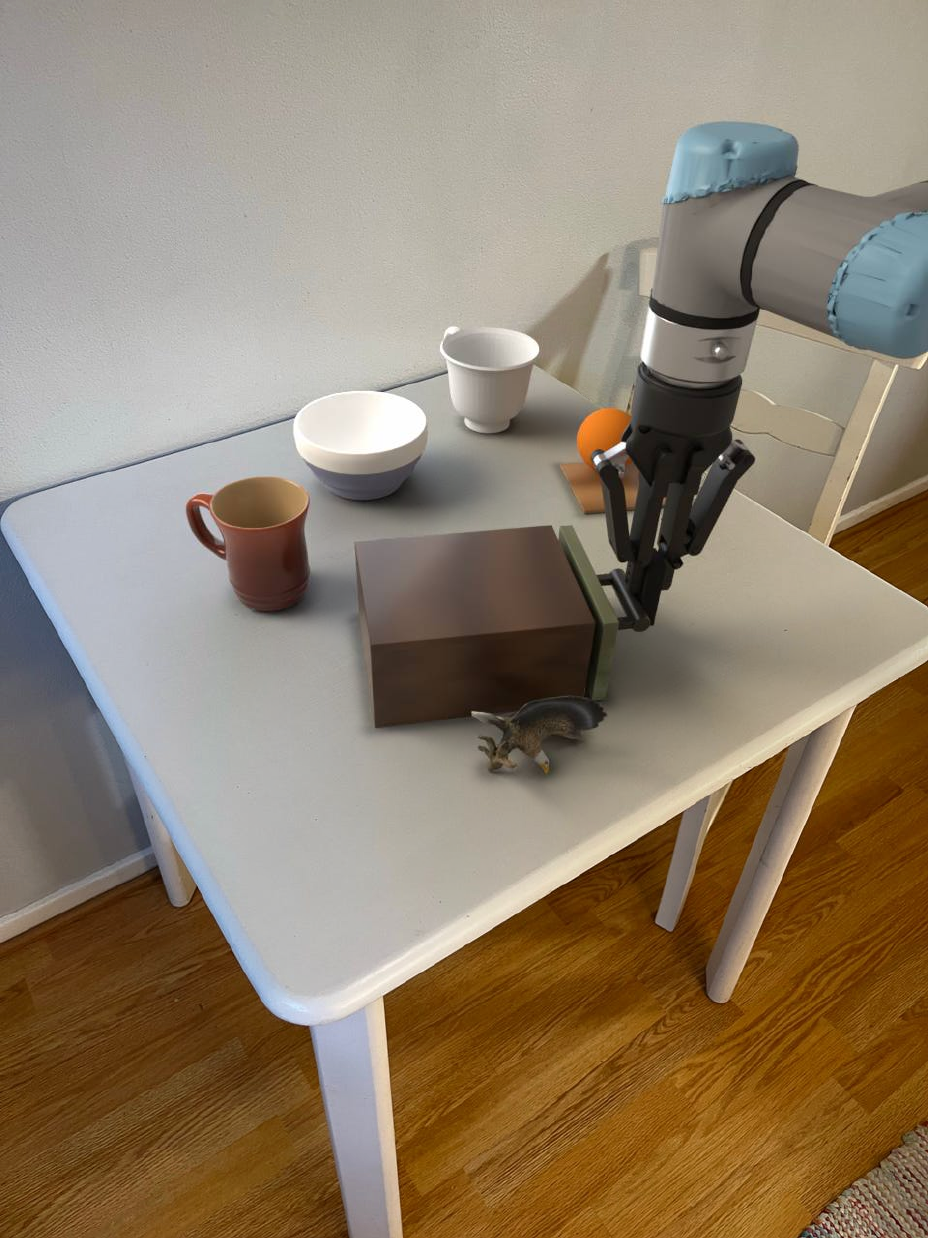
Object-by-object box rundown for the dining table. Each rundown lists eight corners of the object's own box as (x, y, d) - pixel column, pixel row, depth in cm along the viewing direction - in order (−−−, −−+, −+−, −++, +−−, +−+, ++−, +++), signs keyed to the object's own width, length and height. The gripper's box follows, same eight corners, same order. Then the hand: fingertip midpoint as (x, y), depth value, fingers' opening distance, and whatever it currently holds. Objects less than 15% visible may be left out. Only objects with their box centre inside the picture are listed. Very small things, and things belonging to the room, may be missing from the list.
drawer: (606, 594, 87) (618, 520, 81) (654, 693, 77) (671, 616, 71) (383, 616, 83) (380, 540, 78) (402, 722, 73) (400, 644, 68)
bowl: (279, 505, 97) (271, 443, 93) (325, 441, 108) (321, 382, 103) (407, 526, 95) (406, 463, 90) (442, 458, 106) (442, 399, 101)
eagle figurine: (537, 811, 66) (623, 740, 69) (494, 731, 63) (586, 662, 67) (486, 787, 72) (567, 723, 76) (447, 714, 70) (532, 652, 74)
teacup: (482, 384, 121) (485, 311, 115) (554, 429, 112) (562, 352, 106) (408, 407, 116) (406, 332, 109) (477, 456, 107) (480, 377, 100)
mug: (333, 575, 88) (326, 486, 82) (293, 630, 82) (281, 538, 75) (225, 550, 91) (209, 462, 84) (178, 602, 85) (156, 510, 78)
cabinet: (543, 602, 86) (551, 524, 80) (583, 703, 76) (595, 622, 70) (359, 620, 83) (354, 541, 77) (374, 727, 73) (370, 645, 67)
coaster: (671, 506, 99) (671, 503, 99) (584, 513, 98) (584, 510, 97) (641, 460, 107) (641, 457, 106) (560, 466, 105) (560, 463, 105)
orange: (655, 453, 98) (642, 394, 100) (592, 459, 97) (580, 398, 99) (635, 479, 105) (623, 423, 107) (576, 484, 104) (565, 427, 106)
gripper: (620, 395, 61) (582, 652, 76) (798, 385, 63) (726, 637, 78) (589, 349, 67) (559, 597, 82) (753, 341, 69) (694, 584, 84)
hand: (640, 616), depth 80 cm, fingers closed
